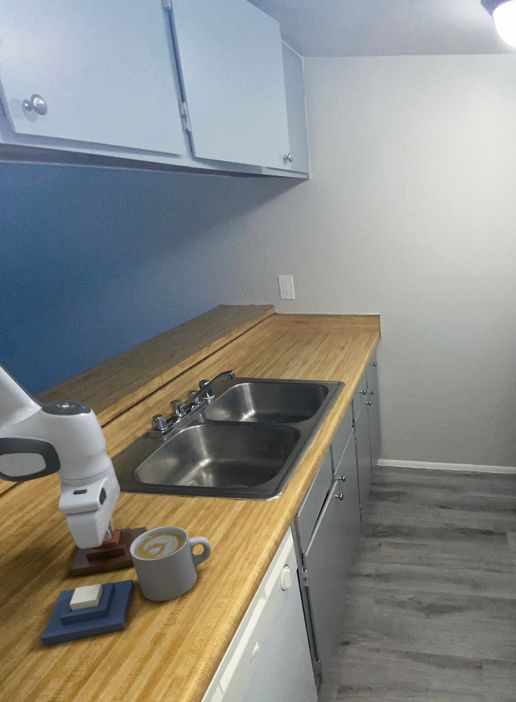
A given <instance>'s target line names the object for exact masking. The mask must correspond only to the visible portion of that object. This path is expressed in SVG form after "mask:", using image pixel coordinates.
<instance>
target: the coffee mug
mask: <svg viewBox="0 0 516 702" xmlns="http://www.w3.org/2000/svg"><path fill="white" fill-rule="evenodd" d="M198 545H201V546H202V547H203V551H202V552H201V553H200V554H195V553H194V548H195V547H196V546H198ZM130 553H131V556H132V560H133V563H134V566H133V567H134V570H135V573H136V577H137V580H138V583H139V586H140V590H141V593H142V595H143V596H144V598H146V599H148V600H150V601H155V602H164V601H169V600H174V599H176V598H179V597H181V596H182V595H184V594H186V593H187V592H188V591H189V590H191V589H192V588H193V586H194V585H195V583H196V581H197V579H198V575H197V567H198V566H200V565H202V564H203V563H204V562H206V561H207V560H208V559H209V558H210V556H211V554H212V547H211V544H210V542H209V539H208V538H206V537H204V536H200V535H199V536H194V537H191V538H190V537H189V533H188V532H187V531H186V530H185V529H184V528H182V527H178V526H174V525H173V526H171V525H169V526H159V527H156V528H152V529H150V530H147V532H145V533H143V534H142V535H140V536H139V537H138V538H136V539H135V540H134V542H133V543H132V545H131V547H130Z"/></svg>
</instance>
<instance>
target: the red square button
mask: <svg viewBox="0 0 516 702" xmlns="http://www.w3.org/2000/svg"><path fill="white" fill-rule="evenodd" d="M116 530H117V529H116ZM120 538H121V532H120V530H117V531H114V532H113V535H112V538H111V540H110V541H105V542H103V541H102V544H101V545H100V546H99V547H95V549H97V548H104V547H110V546H117V545H119V542H120Z"/></svg>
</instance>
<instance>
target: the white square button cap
mask: <svg viewBox="0 0 516 702" xmlns="http://www.w3.org/2000/svg"><path fill="white" fill-rule="evenodd" d="M101 584H102V583H97V584H91V585H85V586H81V587H75V588H74V589H75V592H74V594H73V597H72V599H71V602H70V607H71V609H72V611H75V610H80V609H85V608H91V607H96V606H99V603H100V600H101V596H102V593H103V588H102V585H101Z"/></svg>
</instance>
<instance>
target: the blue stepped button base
mask: <svg viewBox="0 0 516 702" xmlns="http://www.w3.org/2000/svg"><path fill="white" fill-rule="evenodd" d="M100 584H101V585H102V588H103V593H102V596H101V600H100V603H99V606H96V607H91V608H85V609H80V610H75V611H72V609H71V607H70V602H71V599H72V597H73V594H74V592H75V589H76V588H71V589H68V590H63V591H60V592H59V596H58V598H57V599H56V602H55V605H54V606H53V607H54V608H53V610H52V612H51V615H50V617H49V619H48V622H47V624H46V627H45V629H44V630H43V633H42V636H41V638H40V639H41V641H42V643H43V645H44V646H48V645H53V644H58V643H63V642H68V641H71V640H72V641H73V640H78V639H82V638H87V637H92V636H96V635H103V634H108V633H113V632H116V631H117V632H118V631H122V630H125V627H126V623H127V618H128V616H129V610H130V607H131V602H132V598H133V594H134V591H135V590H134V589H135V582H134V579H133V578H131V579H126V580H120V581H112V582H107V583H100Z"/></svg>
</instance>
